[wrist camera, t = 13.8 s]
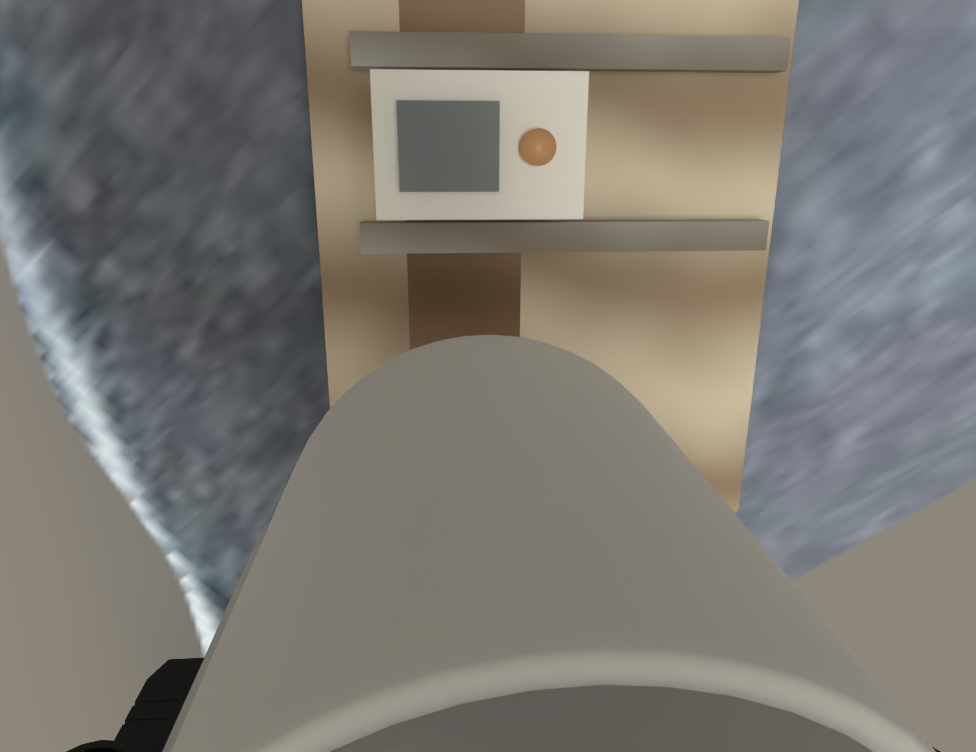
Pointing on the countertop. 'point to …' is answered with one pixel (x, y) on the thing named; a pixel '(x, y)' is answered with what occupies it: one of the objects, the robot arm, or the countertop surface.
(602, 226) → the subfloor panel
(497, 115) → the block
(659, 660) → the mug
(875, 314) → the countertop surface
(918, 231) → the countertop surface
